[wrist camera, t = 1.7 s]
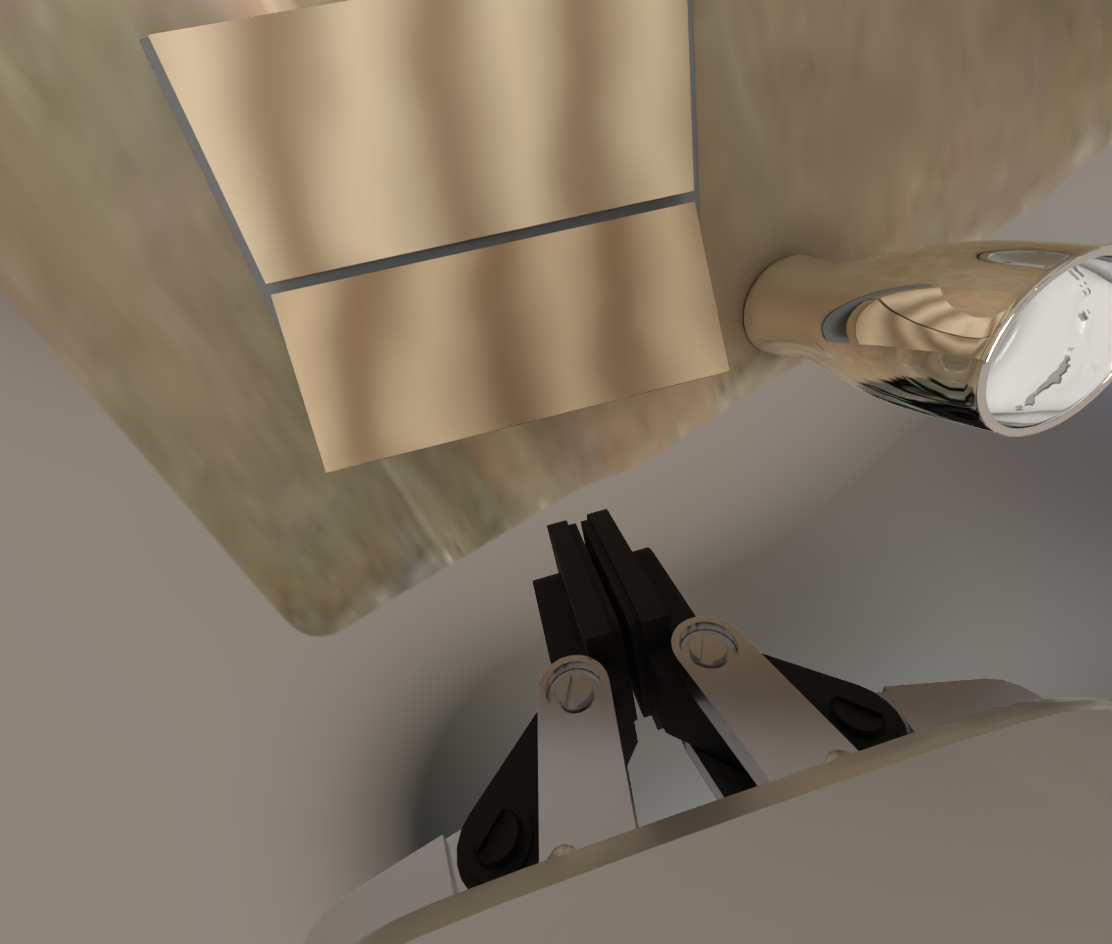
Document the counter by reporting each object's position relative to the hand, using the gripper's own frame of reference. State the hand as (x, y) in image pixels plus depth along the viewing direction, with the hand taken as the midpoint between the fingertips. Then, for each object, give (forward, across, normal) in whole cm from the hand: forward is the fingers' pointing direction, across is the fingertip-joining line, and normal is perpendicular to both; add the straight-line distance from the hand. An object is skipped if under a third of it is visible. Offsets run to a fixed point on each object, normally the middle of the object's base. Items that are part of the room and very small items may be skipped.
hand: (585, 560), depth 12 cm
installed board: (+18, 0, -13) cm, 22 cm away
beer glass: (+18, -18, -1) cm, 26 cm away
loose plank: (+15, 0, -3) cm, 16 cm away
